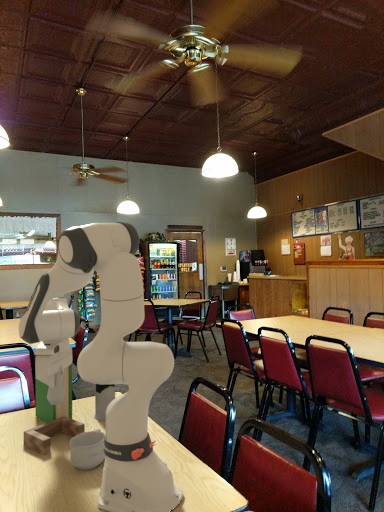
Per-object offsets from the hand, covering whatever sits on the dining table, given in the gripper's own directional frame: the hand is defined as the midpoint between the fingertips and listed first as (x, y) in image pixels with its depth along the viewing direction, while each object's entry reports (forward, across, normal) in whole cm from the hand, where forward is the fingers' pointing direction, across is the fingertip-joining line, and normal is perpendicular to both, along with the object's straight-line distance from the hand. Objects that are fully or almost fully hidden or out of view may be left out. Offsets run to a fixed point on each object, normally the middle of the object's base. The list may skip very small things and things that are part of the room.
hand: (55, 384), depth 129 cm
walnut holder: (+19, 0, -1) cm, 19 cm away
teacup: (+20, +13, +17) cm, 29 cm away
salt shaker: (+6, 0, 0) cm, 6 cm away
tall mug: (+20, -24, +8) cm, 32 cm away
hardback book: (+20, -18, -10) cm, 29 cm away
